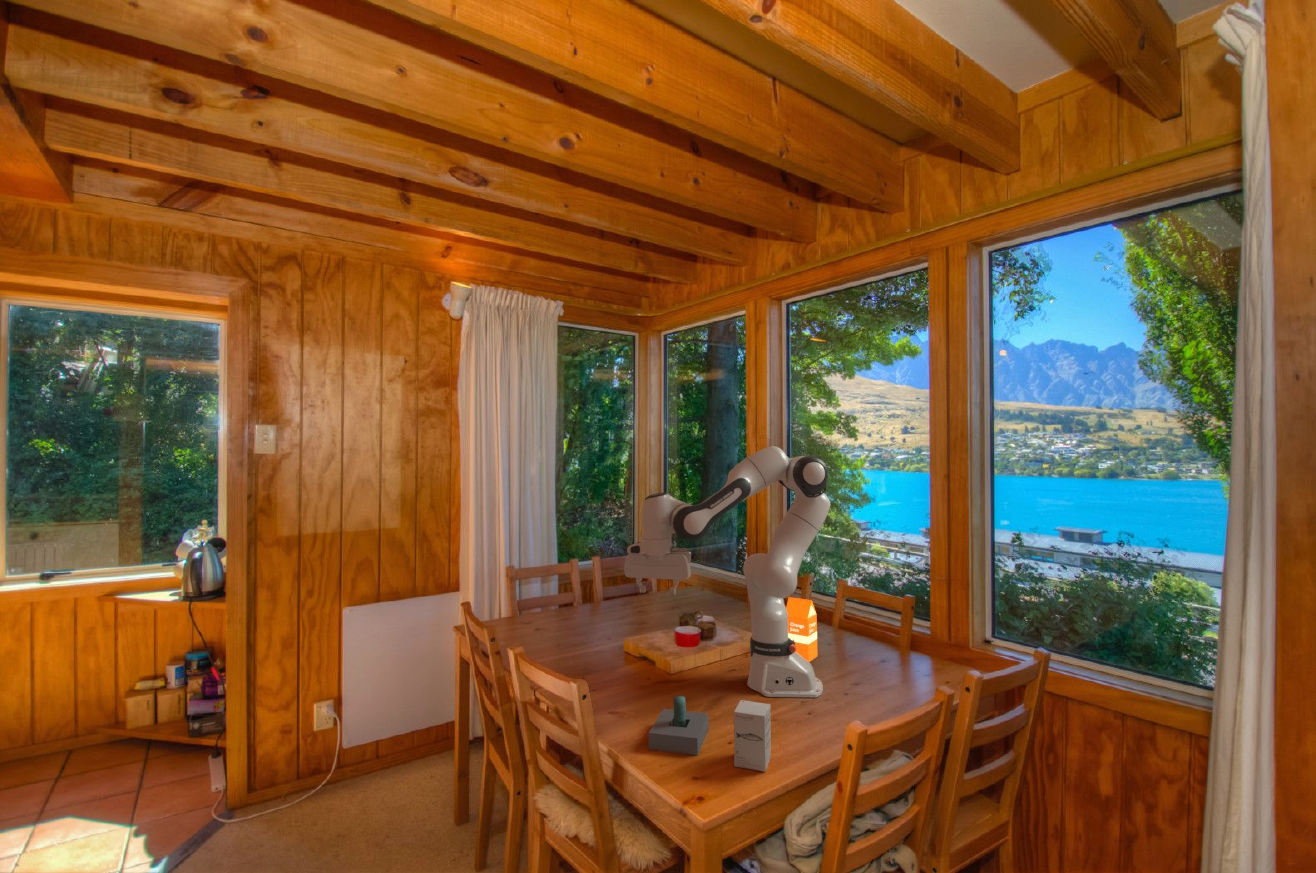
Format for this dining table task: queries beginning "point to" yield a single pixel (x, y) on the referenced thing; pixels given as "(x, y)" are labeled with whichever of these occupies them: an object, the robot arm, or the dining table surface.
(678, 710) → the teal peg
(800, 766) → the dining table surface
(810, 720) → the dining table surface
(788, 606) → the orange juice
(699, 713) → the hole block
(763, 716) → the supplement box
